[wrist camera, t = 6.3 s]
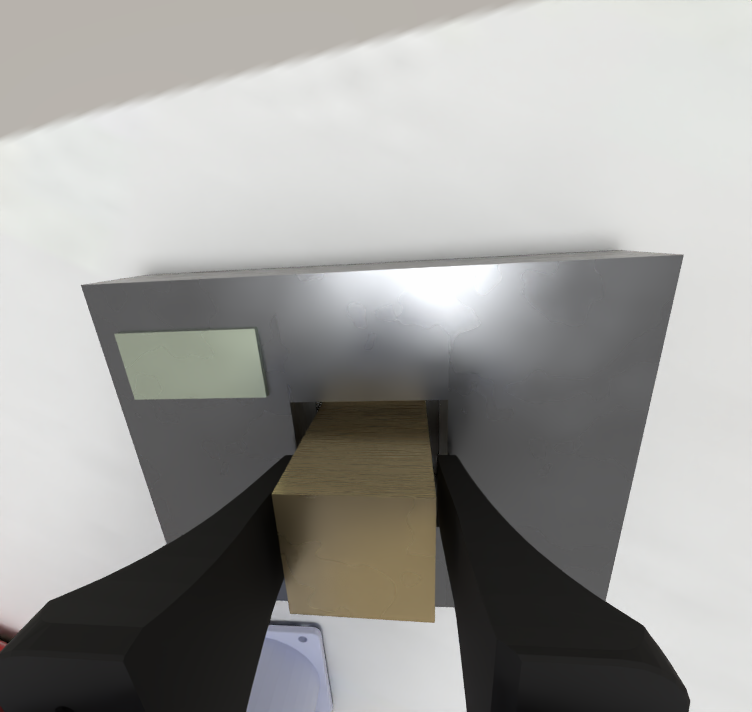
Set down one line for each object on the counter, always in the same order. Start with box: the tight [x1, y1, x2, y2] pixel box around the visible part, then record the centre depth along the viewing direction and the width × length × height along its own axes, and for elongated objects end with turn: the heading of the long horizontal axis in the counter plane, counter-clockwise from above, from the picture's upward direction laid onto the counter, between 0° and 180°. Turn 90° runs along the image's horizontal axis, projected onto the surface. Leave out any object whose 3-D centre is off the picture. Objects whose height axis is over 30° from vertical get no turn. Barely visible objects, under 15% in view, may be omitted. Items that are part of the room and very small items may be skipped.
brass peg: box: [272, 400, 436, 623], centre depth 12 cm, size 4×4×7 cm
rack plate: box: [81, 250, 683, 607], centre depth 14 cm, size 18×14×3 cm
